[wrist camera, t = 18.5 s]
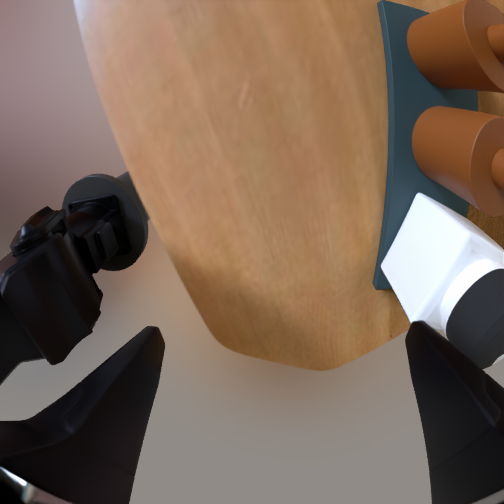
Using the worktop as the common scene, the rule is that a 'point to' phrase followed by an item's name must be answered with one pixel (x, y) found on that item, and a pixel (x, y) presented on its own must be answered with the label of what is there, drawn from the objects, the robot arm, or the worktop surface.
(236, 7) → the worktop surface
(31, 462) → the robot arm
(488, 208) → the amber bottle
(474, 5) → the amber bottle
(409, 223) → the medicine bottle
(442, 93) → the tray
